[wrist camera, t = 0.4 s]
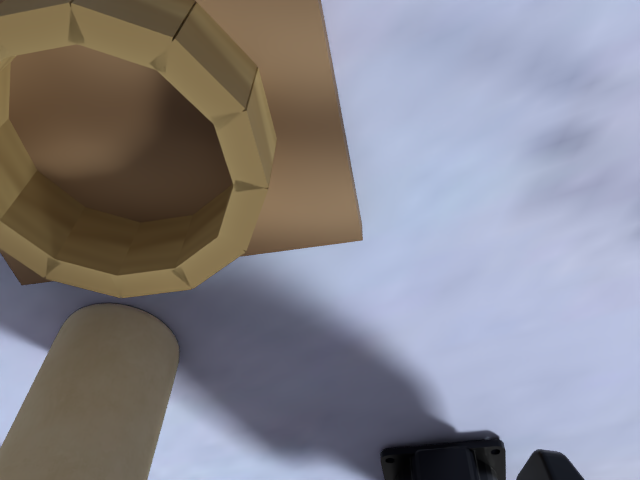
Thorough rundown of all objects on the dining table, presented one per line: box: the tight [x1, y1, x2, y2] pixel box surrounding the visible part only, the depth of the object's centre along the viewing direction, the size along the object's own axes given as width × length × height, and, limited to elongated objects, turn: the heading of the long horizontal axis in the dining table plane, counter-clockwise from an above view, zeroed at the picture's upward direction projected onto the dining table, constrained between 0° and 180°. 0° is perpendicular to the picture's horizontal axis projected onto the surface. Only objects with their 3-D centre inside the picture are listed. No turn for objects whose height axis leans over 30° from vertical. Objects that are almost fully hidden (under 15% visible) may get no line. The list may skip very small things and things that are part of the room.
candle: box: [0, 303, 179, 480], centre depth 25 cm, size 6×6×10 cm
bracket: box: [0, 0, 363, 298], centre depth 20 cm, size 12×14×4 cm
